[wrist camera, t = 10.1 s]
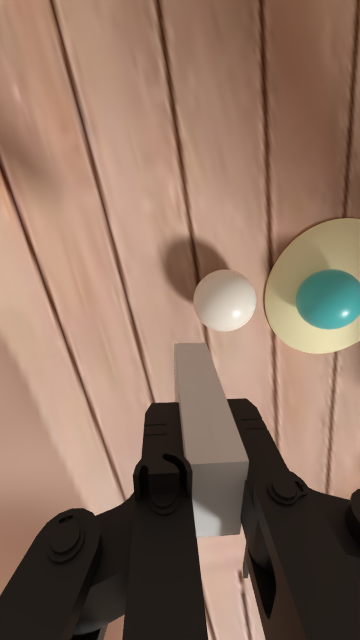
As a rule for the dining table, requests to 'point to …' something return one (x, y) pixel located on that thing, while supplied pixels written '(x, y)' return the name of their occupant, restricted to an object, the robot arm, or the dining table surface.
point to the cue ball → (224, 300)
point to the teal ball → (329, 299)
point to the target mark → (299, 263)
